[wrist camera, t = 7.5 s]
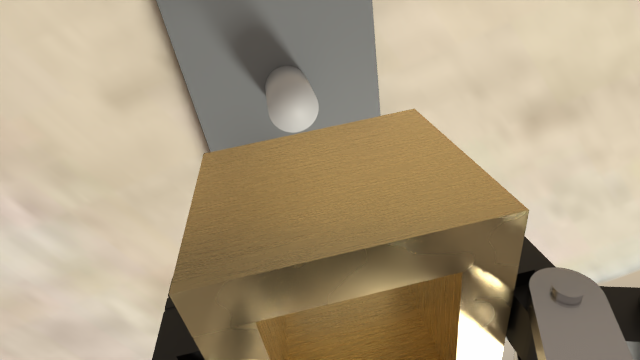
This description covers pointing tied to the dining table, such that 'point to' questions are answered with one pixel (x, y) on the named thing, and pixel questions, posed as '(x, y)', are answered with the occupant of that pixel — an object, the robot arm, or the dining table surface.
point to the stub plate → (274, 65)
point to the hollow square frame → (349, 248)
